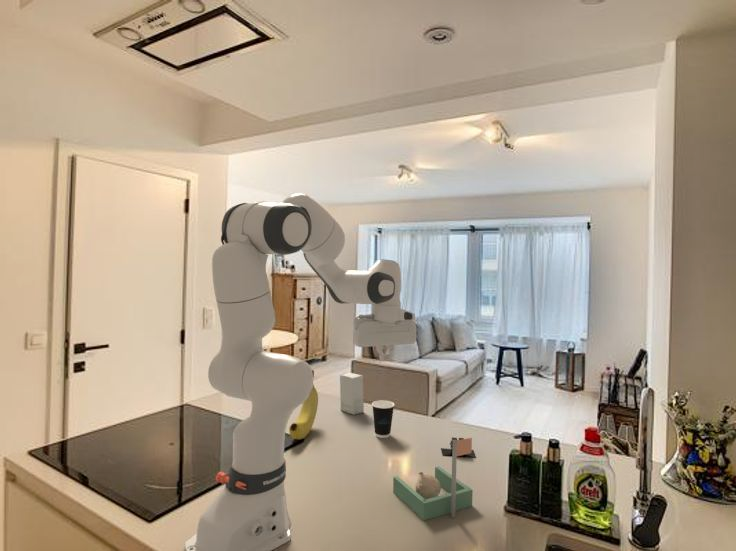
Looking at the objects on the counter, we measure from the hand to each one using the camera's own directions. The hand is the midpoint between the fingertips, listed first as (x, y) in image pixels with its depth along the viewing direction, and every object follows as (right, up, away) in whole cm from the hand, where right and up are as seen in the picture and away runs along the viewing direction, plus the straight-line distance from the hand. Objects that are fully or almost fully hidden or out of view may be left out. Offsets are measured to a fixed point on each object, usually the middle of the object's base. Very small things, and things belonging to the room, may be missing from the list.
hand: (384, 360), depth 128 cm
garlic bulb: (+10, -31, -20) cm, 39 cm away
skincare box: (-12, -30, +45) cm, 55 cm away
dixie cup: (0, -30, +20) cm, 37 cm away
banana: (-27, -30, +20) cm, 45 cm away
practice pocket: (+12, -31, -21) cm, 39 cm away
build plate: (+23, -32, +7) cm, 40 cm away
